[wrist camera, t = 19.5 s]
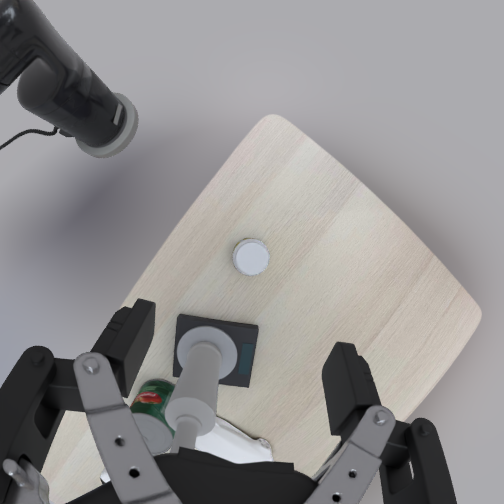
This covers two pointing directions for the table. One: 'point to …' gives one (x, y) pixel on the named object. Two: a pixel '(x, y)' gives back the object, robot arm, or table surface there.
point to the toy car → (233, 444)
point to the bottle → (195, 396)
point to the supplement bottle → (250, 256)
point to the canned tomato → (154, 415)
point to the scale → (225, 338)
